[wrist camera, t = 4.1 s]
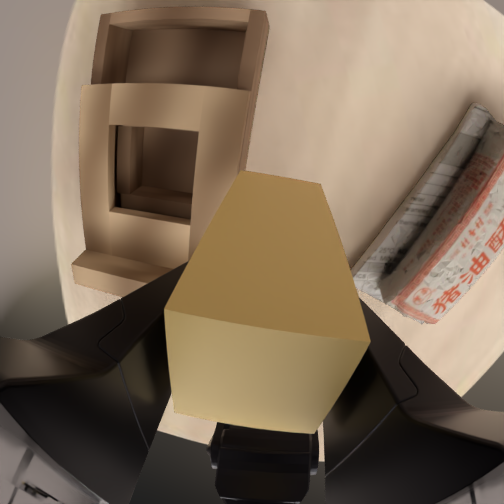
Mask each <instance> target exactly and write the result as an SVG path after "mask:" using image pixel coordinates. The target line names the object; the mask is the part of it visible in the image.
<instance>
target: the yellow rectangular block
mask: <svg viewBox="0 0 504 504" xmlns="http://www.w3.org/2000/svg"><path fill="white" fill-rule="evenodd" d="M164 317H165V331H166V343H167V354H168V364H169V374H170V383H171V391H172V399H173V406H174V412H175V413H179V414H183V415H187V416H191V417H196V418H200V419H205V420H210V421H215V422H220V423H226V424H232V425H238V426H244V427H251V428H258V429H266V430H275V431H284V432H295V433H309V434H314V433H315V432H316V430H317V429H318V427H319V426H320V424H321V423H322V422H323V420H324V419H325V417H326V416H327V414H328V413H329V411H330V410H331V408H332V407H333V405H334V403H335V402H336V400H337V399H338V397H339V396H340V394H341V392H342V391H343V389H344V388H345V386H346V384H347V383H348V381H349V379H350V378H351V376H352V374H353V373H354V371H355V369H356V367H357V366H358V364H359V362H360V360H361V359H362V357H363V355H364V353H365V351H366V350H367V348H368V346H369V344H370V342H371V341H370V337H369V333H368V329H367V325H366V322H365V318H364V314H363V311H362V307H361V304H360V300H359V297H358V293H357V290H356V287H355V283H354V280H353V277H352V274H351V270H350V267H349V264H348V261H347V258H346V255H345V252H344V249H343V246H342V243H341V240H340V237H339V234H338V231H337V228H336V225H335V222H334V219H333V217H332V214H331V211H330V208H329V205H328V203H327V200H326V197H325V195H324V192H323V189H322V187H321V184H318V183H313V182H307V181H302V180H297V179H291V178H286V177H280V176H274V175H268V174H262V173H256V172H249V171H242V170H240V172H239V174H238V175H237V177H236V179H235V180H234V182H233V184H232V186H231V187H230V189H229V191H228V192H227V194H226V196H225V198H224V199H223V201H222V203H221V205H220V206H219V208H218V210H217V212H216V213H215V215H214V217H213V219H212V220H211V222H210V224H209V226H208V228H207V229H206V231H205V233H204V235H203V237H202V238H201V240H200V242H199V244H198V246H197V247H196V249H195V251H194V253H193V255H192V257H191V259H190V260H189V262H188V264H187V266H186V268H185V270H184V272H183V274H182V275H181V277H180V279H179V281H178V283H177V285H176V287H175V289H174V291H173V293H172V294H171V296H170V298H169V300H168V302H167V304H166V306H165V308H164Z"/></svg>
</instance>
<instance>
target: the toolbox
mask: <svg viewBox="0 0 504 504" xmlns="http://www.w3.org/2000/svg"><path fill="white" fill-rule="evenodd" d="M268 33H269V22H268V18H267V14H266V11H261V10H252V9H241V8H226V7H164V8H149V9H139V10H130V11H122V12H115V13H108V14H102V15H101V17H100V22H99V28H98V33H97V39H96V46H95V53H94V60H93V68H92V78H91V85H94V84H115V83H162V84H184V85H199V86H210V87H220V88H229V89H238V90H245V91H251V95H250V101H249V107H248V113H247V119H246V125H245V132H244V138H243V144H242V151H241V157H240V164H239V171H238V174H239V172H240V170H242V171H245V168H246V162H247V156H248V149H249V143H250V137H251V131H252V125H253V119H254V113H255V107H256V101H257V95H258V89H259V83H260V77H261V72H262V66H263V60H264V55H265V49H266V44H267V38H268ZM198 137H199V131H191V130H182V129H172V128H160V127H146V126H129V125H116V128H115V155H114V193H115V207H119V208H125V209H131V210H137V211H143V212H149V213H155V214H161V215H167V216H172V217H178V218H184V219H190V220H191V209H192V197H193V185H194V175H195V164H196V155H197V146H198Z"/></svg>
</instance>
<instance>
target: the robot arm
mask: <svg viewBox="0 0 504 504" xmlns="http://www.w3.org/2000/svg"><path fill="white" fill-rule="evenodd" d="M188 262H189V261H187V262H185V263H184V264H182V265H180V266H178V267H176V268H174V269H173V270H171V271H169V272H167V273H165V274H164V275H162V276H160V277H158V278H156V279H154V280H153V281H151V282H149V283H147V284H145V285H144V286H142V287H140V288H138V289H137V290H135V291H133V292H131V293H129V294H128V295H126V296H124V297H122V298H121V300H120V299H119V300H117V301H115V302H113V303H111V304H110V305H108V306H106V307H104V308H102V309H100V310H98V311H97V312H95V313H92V314H90V315H88V316H86V317H84V318H82V319H80V320H78V321H75V322H73V323H71V324H69V325H67V326H64V327H62V328H60V329H58V330H55V331H53V332H51V333H49V334H47V335H44V336H42V337H39V338H36V339H30V340H19V339H13V338H7V337H2V336H0V504H129V502H130V499H131V496H132V494H133V491H134V488H135V486H136V483H137V481H138V478H139V475H140V473H141V470H142V467H143V465H144V462H145V460H146V457H147V454H148V450H149V449H150V446H151V444H152V441H153V439H154V436H155V434H156V431H157V428H158V426H159V423H160V421H161V418H162V416H163V413H164V411H165V408H166V406H167V403H168V401H169V398H170V396H171V393H172V391H171V383H170V374H169V364H168V354H167V343H166V331H165V317H164V308H165V306H166V304H167V302H168V300H169V298H170V296H171V294H172V293H173V291H174V289H175V287H176V285H177V283H178V281H179V279H180V277H181V275H182V274H183V272H184V270H185V268H186V266H187V264H188ZM359 300H360V304H361V307H362V311H363V314H364V318H365V322H366V325H367V329H368V333H369V337H370V341H371V342H370V344H369V346H368V348H367V350H366V351H365V353H364V355H363V357H362V359H361V360H360V362H359V364H358V366H357V367H356V369H355V371H354V373H353V374H352V376H351V378H350V379H349V381H348V383H347V384H346V386H345V388H344V389H343V391H342V392H341V394H340V396H339V397H338V399H337V400H336V402H335V403H334V405H333V407H332V408H331V410H330V411H329V413H328V414H327V416H326V417H325V419H324V420H323V430H324V456H325V476H326V477H325V504H504V412H496V411H487V410H482V409H478V408H476V407H474V406H472V405H470V404H469V403H467V402H466V401H465V400H464V399H462V398H461V397H460V396H459V395H458V394H457V393H456V392H455V391H454V390H453V389H451V388H450V387H449V386H448V385H447V384H446V383H445V382H444V381H443V380H442V379H440V378H439V377H438V376H437V375H436V374H435V373H434V372H433V371H432V370H431V369H430V368H428V367H427V366H426V365H425V364H424V363H423V362H422V361H421V360H420V359H419V358H418V357H417V356H416V355H415V354H414V353H413V352H412V351H411V349H410V348H409V347H408V346H405V343H404V342H403V341H402V340H401V339H400V338H399V337H398V336H397V335H396V334H395V333H394V332H393V331H392V330H391V329H390V328H389V327H388V326H387V325H386V324H385V323H384V322H383V321H382V320H381V319H380V318H379V317H378V316H377V315H376V314H375V313H374V312H373V311H372V310H371V309H370V308H369V307H368V306H367V305H366V304H365V303H364V302H363V301H362V300H361V299H360V298H359ZM207 453H208V454H209V455H210V456H211V464H212V468H213V469H217V472H216V481H215V486H216V489H217V491H218V494H219V496H220V497H221V498H222V500H223V501H224V503H225V504H299V503H300V502H301V501H302V499H303V498H304V497H305V495H306V494H307V492H308V490H309V482H310V475H315V474H316V472H317V468H318V461H319V440H318V430H316V432H315V433H314V434H309V433H295V432H284V431H275V430H266V429H258V428H251V427H244V426H238V425H232V424H226V423H220V422H217V425H216V429H215V432H214V435H213V437H212V438H211V440H210V442H209V444H208V446H207Z"/></svg>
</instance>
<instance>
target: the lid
mask: <svg viewBox="0 0 504 504" xmlns="http://www.w3.org/2000/svg"><path fill="white" fill-rule="evenodd" d="M250 95H251V91H245V90H238V89H229V88H220V87H210V86H199V85H184V84H162V83H115V84H94V85H82V87H81V100H80V120H79V172H80V193H81V207H82V218H83V228H84V237H85V245H86V250H85V251H84V252H83V253H82V254H81V255H80V256H79V257H78V258H77V259H76V260H75V261H74V262H73V263H72V264H71V266H72V271H73V276H74V281H75V284H78V285H82V286H85V287H89V288H92V289H96V290H99V291H103V292H106V293H110V294H113V295H117V296H121V297H124V296H126V295H128V294H129V293H131V292H133V291H135V290H137V289H138V288H140V287H142V286H144V285H145V284H147V283H149V282H151V281H153V280H154V279H156V278H158V277H160V276H162V275H164V274H165V273H167V272H169V271H171V270H173V269H174V268H176V267H178V266H180V265H182V264H184V263H185V262H187V261H189V260H190V259H191V257H192V255H193V253H194V251H195V249H196V247H197V246H198V244H199V242H200V240H201V238H202V237H203V235H204V233H205V231H206V229H207V228H208V226H209V224H210V222H211V220H212V219H213V217H214V215H215V213H216V212H217V210H218V208H219V206H220V205H221V203H222V201H223V199H224V198H225V196H226V194H227V192H228V191H229V189H230V187H231V186H232V184H233V182H234V180H235V179H236V177H237V175H238V171H239V164H240V157H241V151H242V144H243V138H244V132H245V125H246V119H247V113H248V107H249V101H250ZM116 125H129V126H146V127H160V128H172V129H182V130H191V131H199V137H198V146H197V155H196V164H195V175H194V185H193V197H192V209H191V220H190V219H184V218H178V217H172V216H167V215H161V214H155V213H149V212H143V211H137V210H131V209H125V208H119V207H115V193H114V155H115V128H116Z"/></svg>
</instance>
